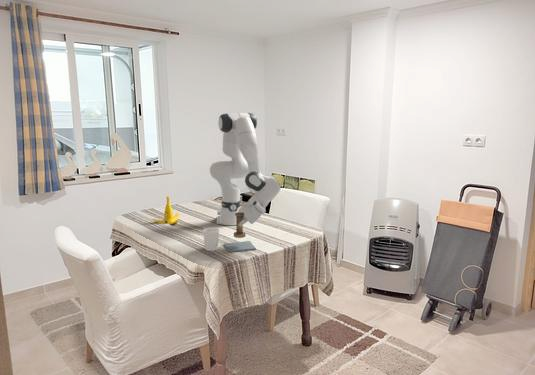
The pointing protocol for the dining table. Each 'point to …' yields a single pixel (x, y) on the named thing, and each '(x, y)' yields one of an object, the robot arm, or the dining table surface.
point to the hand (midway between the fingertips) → (238, 224)
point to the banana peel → (168, 214)
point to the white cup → (211, 238)
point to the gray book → (239, 246)
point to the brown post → (239, 229)
